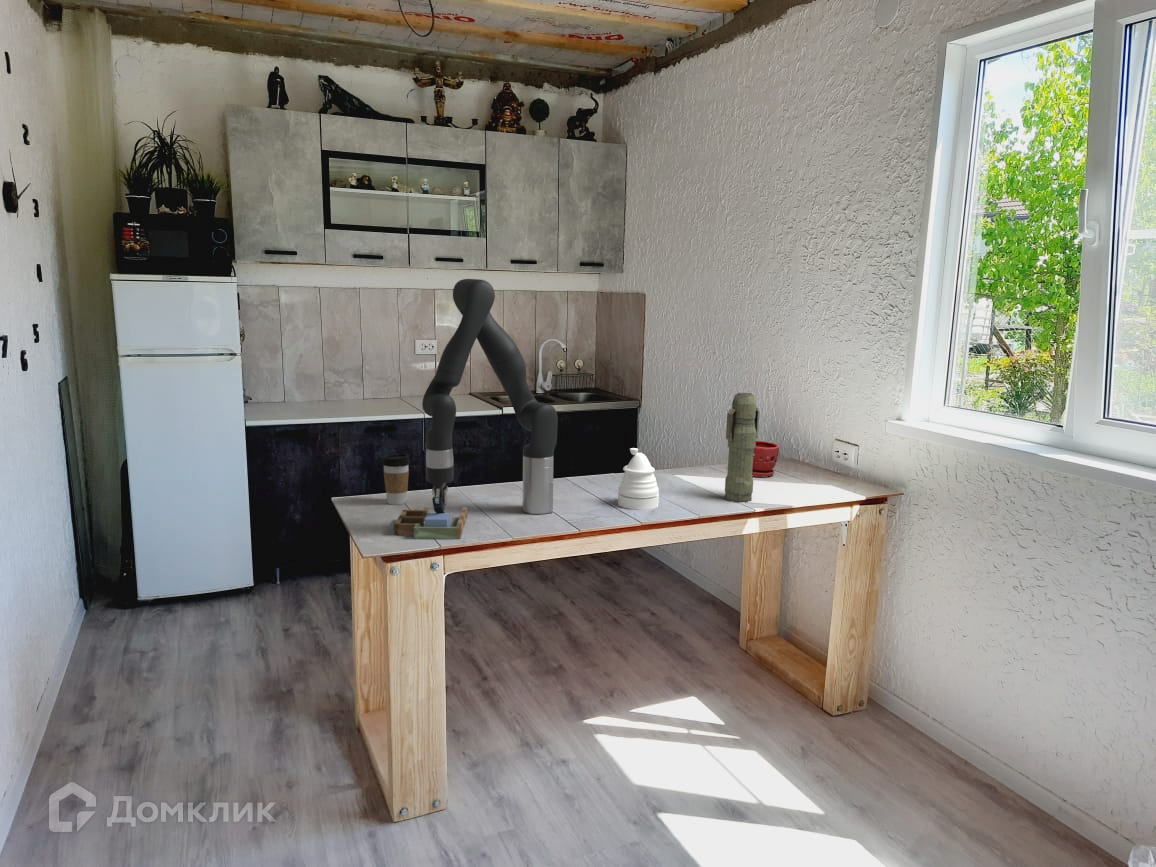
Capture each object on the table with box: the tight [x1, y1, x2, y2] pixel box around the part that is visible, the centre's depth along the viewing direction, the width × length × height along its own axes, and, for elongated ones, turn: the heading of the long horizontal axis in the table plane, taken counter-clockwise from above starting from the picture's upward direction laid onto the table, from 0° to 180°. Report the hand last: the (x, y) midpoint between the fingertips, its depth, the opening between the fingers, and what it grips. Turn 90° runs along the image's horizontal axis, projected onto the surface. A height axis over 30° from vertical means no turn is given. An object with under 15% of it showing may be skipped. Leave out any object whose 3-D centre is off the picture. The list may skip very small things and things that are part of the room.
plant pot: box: [752, 440, 780, 478], centre depth 292 cm, size 13×13×12 cm
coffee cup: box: [381, 453, 411, 506], centre depth 243 cm, size 8×8×15 cm
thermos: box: [724, 392, 760, 503], centre depth 254 cm, size 9×12×35 cm
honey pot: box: [617, 447, 660, 511], centre depth 247 cm, size 13×13×18 cm
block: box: [424, 512, 451, 527], centre depth 214 cm, size 6×6×5 cm
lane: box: [393, 506, 468, 540], centre depth 220 cm, size 20×18×3 cm
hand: (440, 523), depth 220 cm, fingers closed
